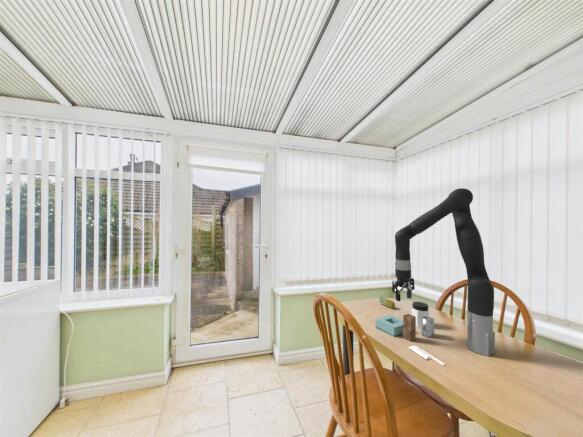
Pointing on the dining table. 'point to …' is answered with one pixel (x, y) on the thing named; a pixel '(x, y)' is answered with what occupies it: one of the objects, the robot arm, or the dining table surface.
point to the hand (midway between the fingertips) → (403, 299)
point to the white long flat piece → (424, 354)
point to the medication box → (387, 302)
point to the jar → (419, 311)
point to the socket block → (390, 325)
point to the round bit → (427, 327)
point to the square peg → (409, 327)
